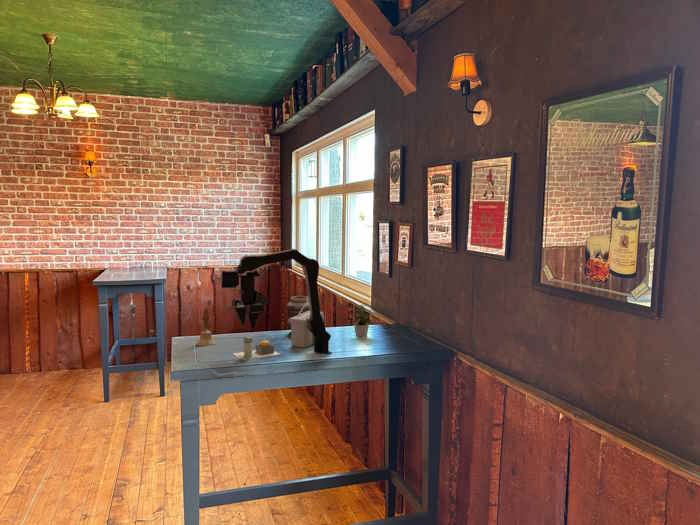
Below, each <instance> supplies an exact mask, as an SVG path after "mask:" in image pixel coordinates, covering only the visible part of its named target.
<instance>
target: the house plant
mask: <svg viewBox="0 0 700 525" xmlns="http://www.w3.org/2000/svg"><path fill="white" fill-rule="evenodd" d="M355 305H356V307H357V310H356V309H354V308H353V307H351V306H348V307H349V308H350V309H351V311H353V313H354V314H355V316H356V317H355V316H352V315H350V317H349V318H348V319H351V318H352V319H353V320H354V321H356V322H355V323H354V324H353V325H354V332H355V334H354V335H355V338H356V337H358V338H357V339H364V338H363V337H367V338H368V333H369V326H370V323H368V322H369V321H371V320H373V319H374V318H373V319H370V318H371V317H370V314H369V313H370V312H371V311H372V308H370V309H369V311H368V312H367V313H366V311H365V310H366V308H365V306H364V305H365V304H360V306H359V304H358V303H356V304H355ZM365 313H366V315H365Z"/></svg>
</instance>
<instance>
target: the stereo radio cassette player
mask: <svg viewBox="0 0 700 525" xmlns="http://www.w3.org/2000/svg"><path fill="white" fill-rule="evenodd" d="M308 300H309V298H308ZM308 300H307V302H308ZM307 302H306V303H307ZM306 303H305V305H306ZM305 305H304V306H303V308H304V307H305ZM303 308H302V309H301V311H302V310H303ZM301 311H300V313H301ZM300 313H299V314H298V315H297V316H295V317H292V318H290V317H289V318H290V322H291V327H290V328H291V329H290V332H291V335H290V336H291V337H290V339H291V340H290V341H291V342H290V343H291V347H295V348H302V349H305V348H308V347H310V346H312V345H314V336H313V334H312V333H311V332H310V331H309V329H308V328H307V321H306V318H309V317H310V311H307V312H305V313H302V314H300ZM320 313H321V316H322V319H323V321H324V322H325V314H324V311H320Z"/></svg>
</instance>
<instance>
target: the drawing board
mask: <svg viewBox="0 0 700 525" xmlns="http://www.w3.org/2000/svg"><path fill="white" fill-rule="evenodd" d="M232 355H234V356H236V357H238V358H239V359H241V360H243V361H245V360H252V359H260V358H264V357H272V356H279V355H280V353H279V352H278V351H275V350H274V353H269V354H263V355H261V354H259V353H257V352H256V349H254V350H253V349H252V356H251V357H244V351H241V352H240V351H239V352H234V353H232Z"/></svg>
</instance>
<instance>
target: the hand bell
mask: <svg viewBox="0 0 700 525" xmlns="http://www.w3.org/2000/svg"><path fill="white" fill-rule="evenodd" d="M202 319H203V330H202V331H201V332H200V335H199V339H198V341H197V342H196V346H199V347H210V346H215V345H216V343H217V342H216V341H214V339H213V336H212V331H210V330H209V321H210V320H209V319H210V311H209V309H208V307H205V308H204V310H203V314H202Z"/></svg>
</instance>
